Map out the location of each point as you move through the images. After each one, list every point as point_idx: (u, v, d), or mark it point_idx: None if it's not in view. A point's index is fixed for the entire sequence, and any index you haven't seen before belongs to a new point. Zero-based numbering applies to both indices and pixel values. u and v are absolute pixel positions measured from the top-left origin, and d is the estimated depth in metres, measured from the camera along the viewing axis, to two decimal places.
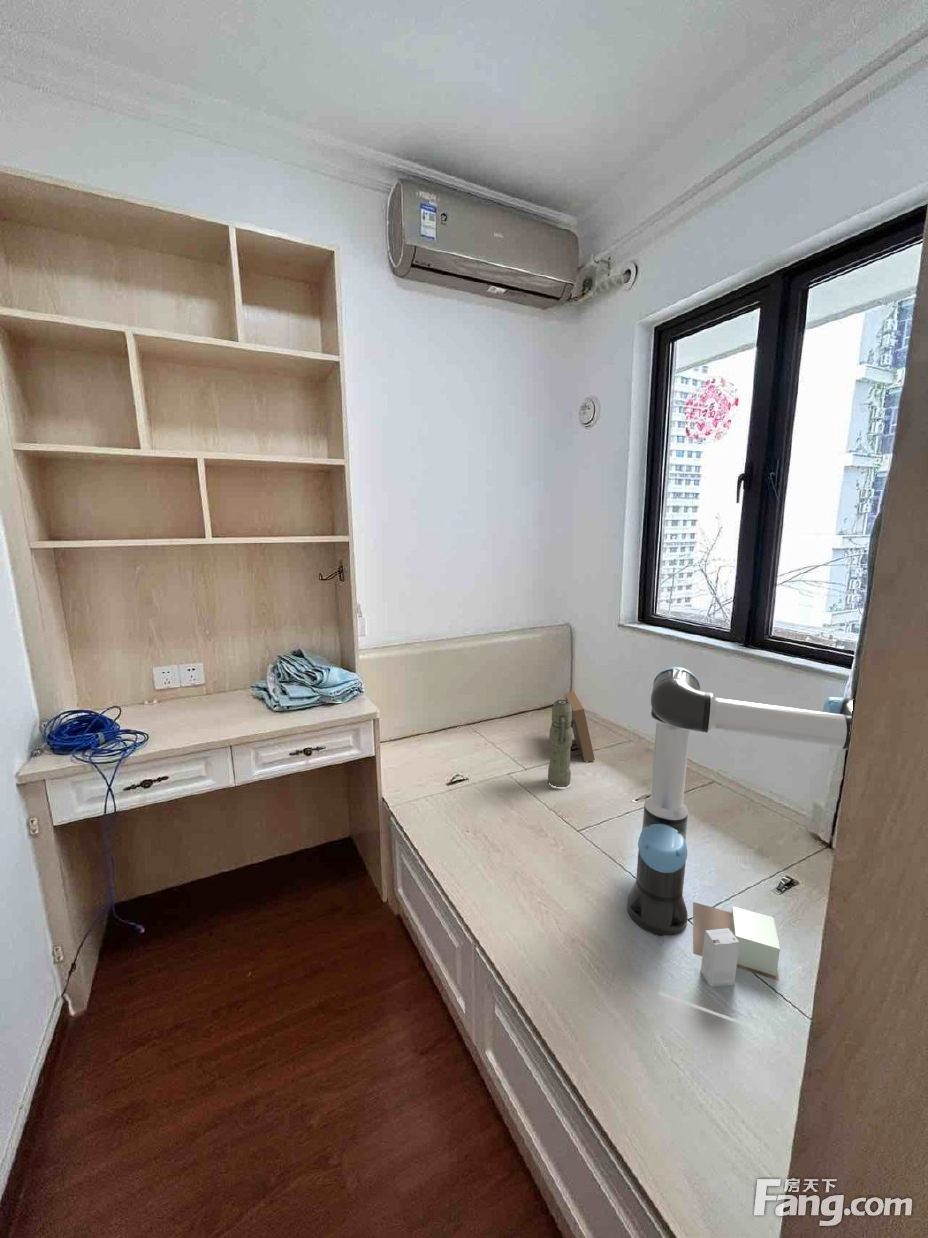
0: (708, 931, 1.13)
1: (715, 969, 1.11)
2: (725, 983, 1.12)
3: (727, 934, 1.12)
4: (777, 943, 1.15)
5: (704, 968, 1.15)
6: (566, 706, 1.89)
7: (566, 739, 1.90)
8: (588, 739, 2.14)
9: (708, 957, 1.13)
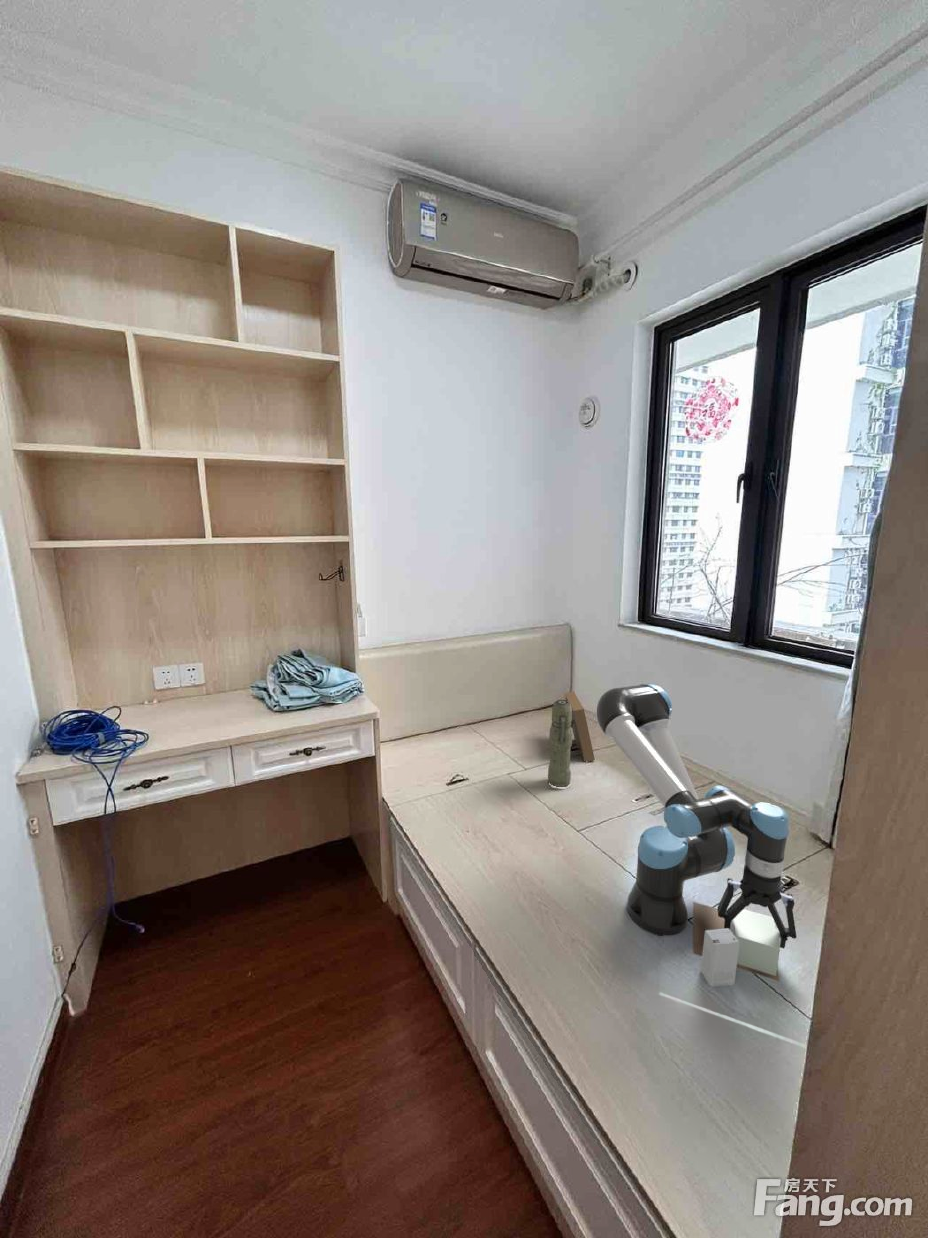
0: (708, 931, 1.13)
1: (715, 969, 1.11)
2: (725, 983, 1.12)
3: (727, 934, 1.12)
4: (777, 943, 1.15)
5: (704, 968, 1.15)
6: (566, 706, 1.89)
7: (566, 739, 1.90)
8: (588, 739, 2.14)
9: (708, 957, 1.13)
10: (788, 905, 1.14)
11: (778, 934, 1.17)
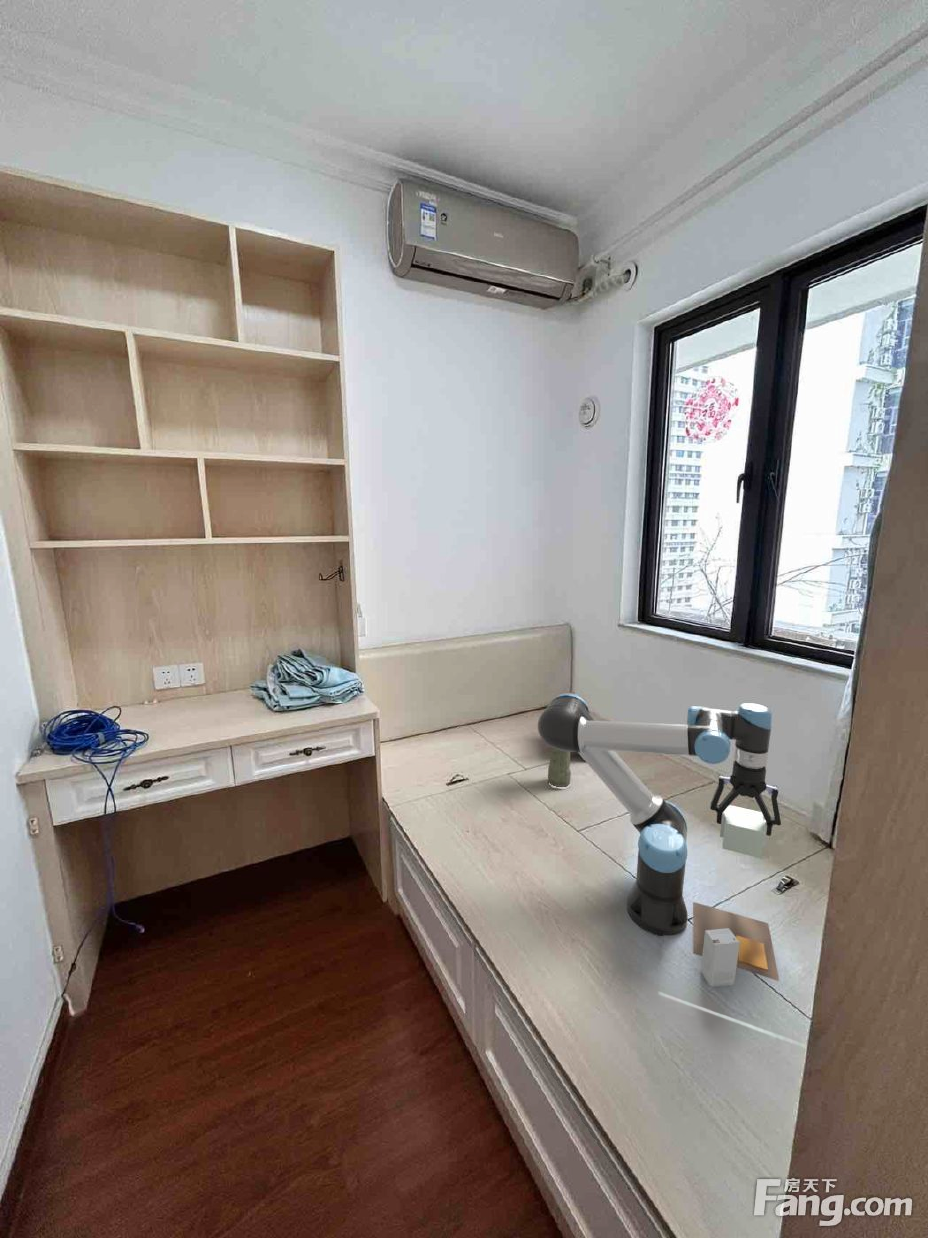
0: (708, 931, 1.13)
1: (715, 969, 1.11)
2: (725, 983, 1.12)
3: (727, 934, 1.12)
4: (763, 829, 1.27)
5: (704, 968, 1.15)
6: None
7: None
8: None
9: (708, 957, 1.13)
10: (773, 794, 1.27)
11: (765, 823, 1.30)
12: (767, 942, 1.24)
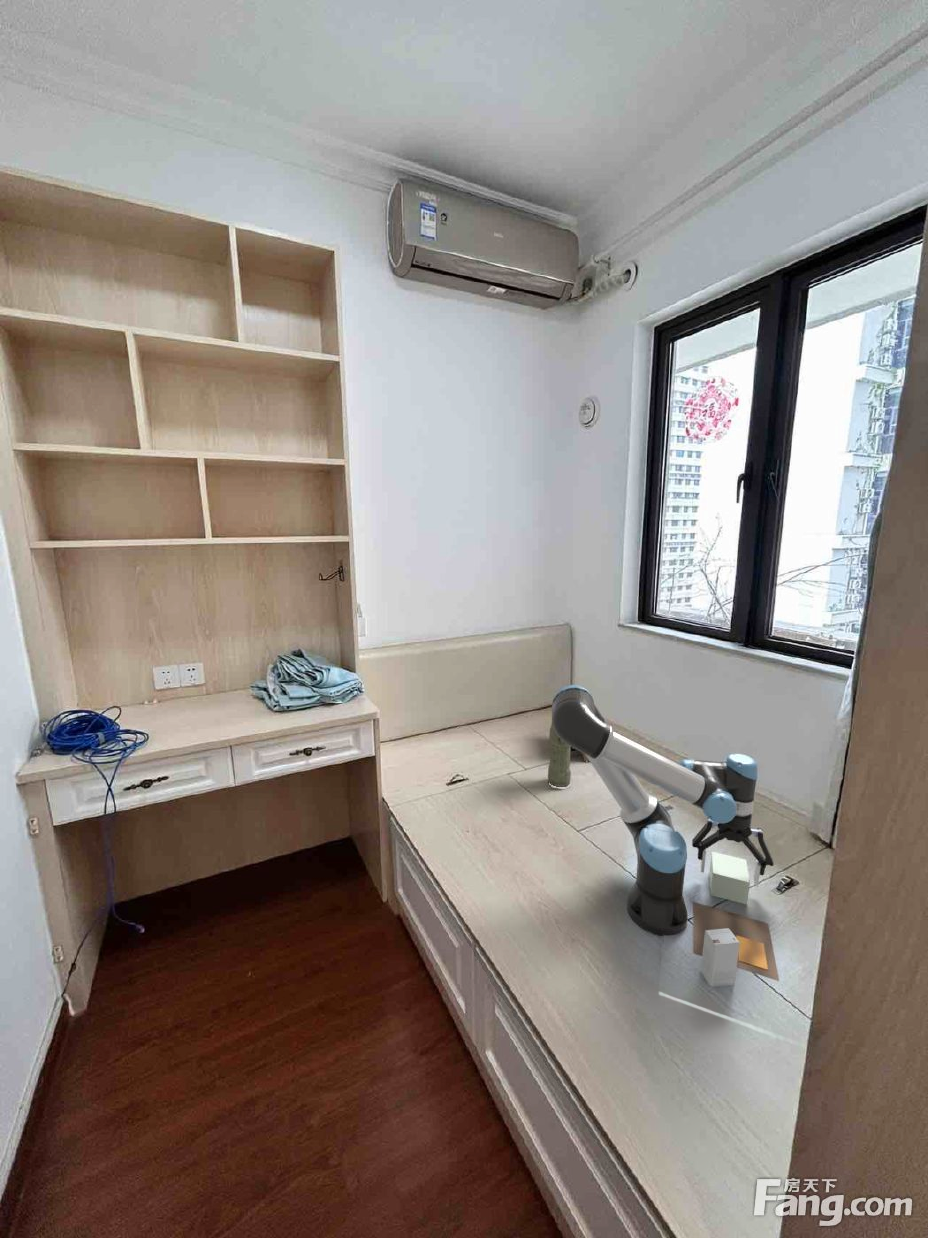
0: (708, 931, 1.13)
1: (715, 969, 1.11)
2: (725, 983, 1.12)
3: (727, 934, 1.12)
4: (748, 878, 1.36)
5: (704, 968, 1.15)
6: None
7: None
8: None
9: (708, 957, 1.13)
10: (759, 837, 1.35)
11: (758, 863, 1.37)
12: (767, 942, 1.24)
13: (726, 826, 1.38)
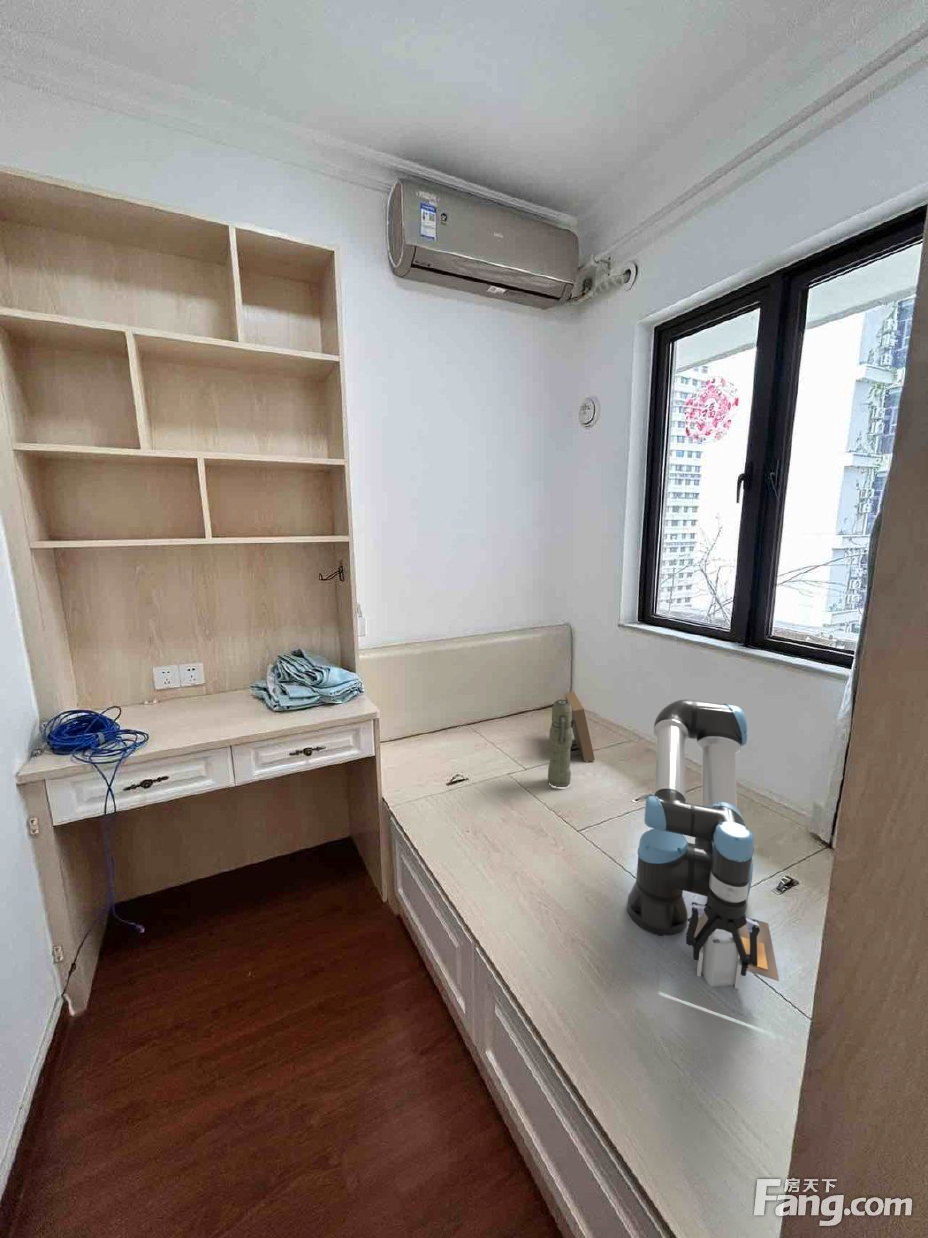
0: None
1: (715, 969, 1.11)
2: (725, 983, 1.12)
3: (727, 934, 1.12)
4: None
5: (704, 968, 1.15)
6: (566, 706, 1.89)
7: (566, 739, 1.90)
8: (588, 739, 2.14)
9: (708, 957, 1.13)
10: (753, 932, 1.08)
11: (739, 961, 1.11)
12: (767, 942, 1.24)
13: (713, 910, 1.11)
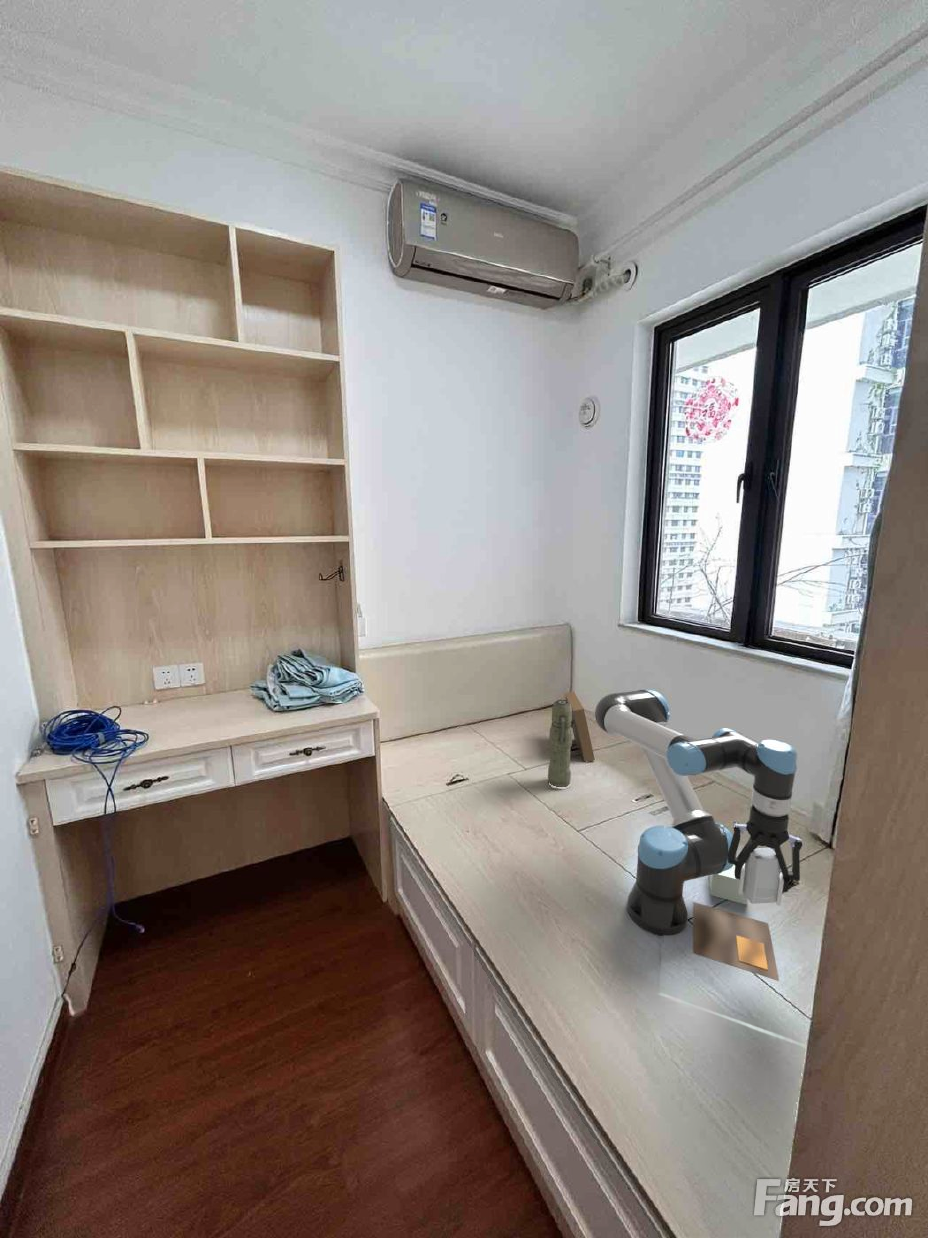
0: None
1: (757, 885, 1.14)
2: (767, 900, 1.15)
3: (769, 852, 1.15)
4: None
5: (745, 887, 1.17)
6: (566, 706, 1.89)
7: (566, 739, 1.90)
8: (588, 739, 2.14)
9: (750, 875, 1.15)
10: (795, 846, 1.10)
11: (781, 877, 1.14)
12: (767, 942, 1.24)
13: (756, 827, 1.14)
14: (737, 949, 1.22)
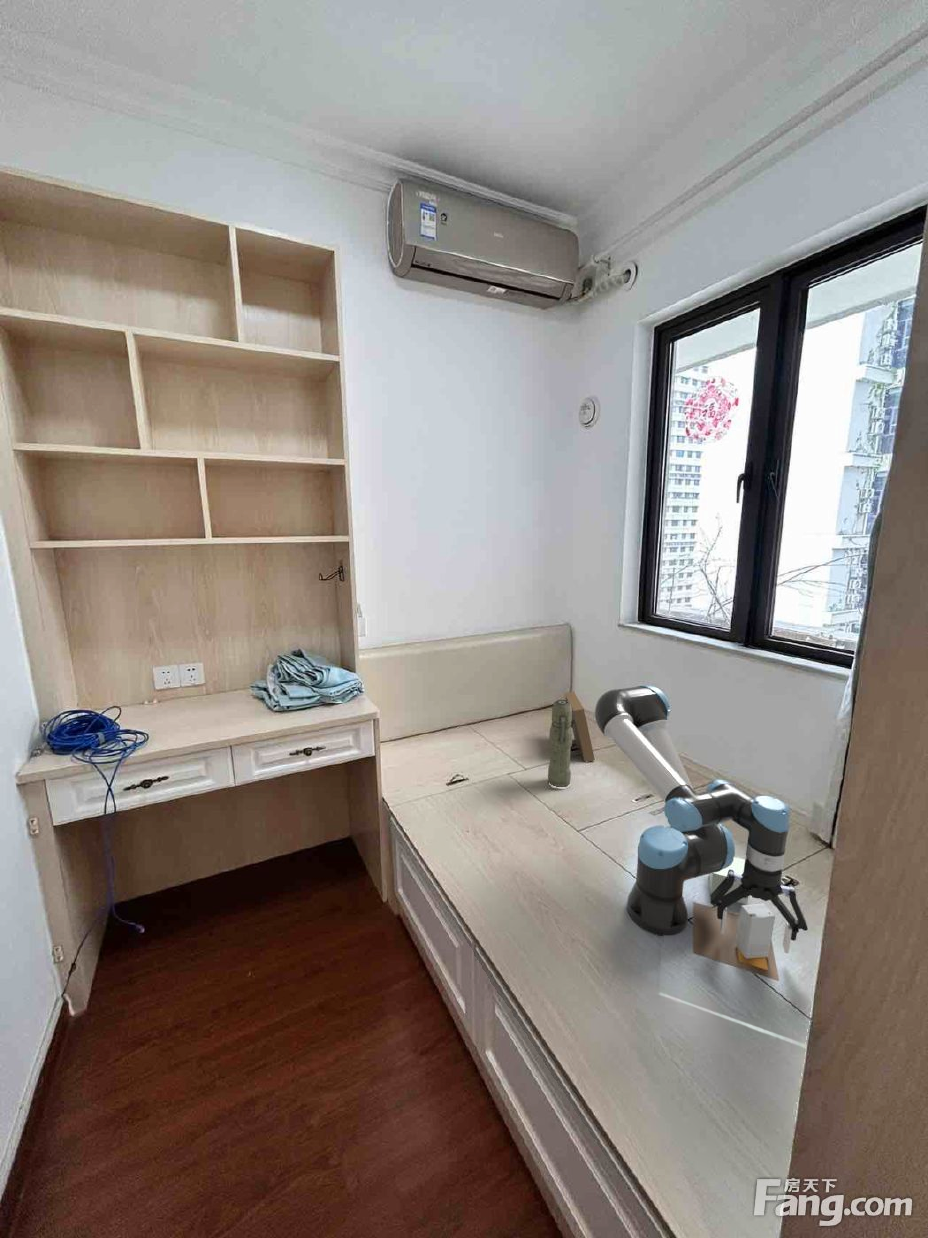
0: (744, 906, 1.19)
1: (750, 941, 1.18)
2: (760, 955, 1.19)
3: (762, 909, 1.19)
4: None
5: (739, 941, 1.21)
6: (566, 706, 1.89)
7: (566, 739, 1.90)
8: (588, 739, 2.14)
9: (744, 931, 1.19)
10: (790, 897, 1.14)
11: (789, 926, 1.16)
12: None
13: (751, 881, 1.17)
14: (737, 949, 1.22)
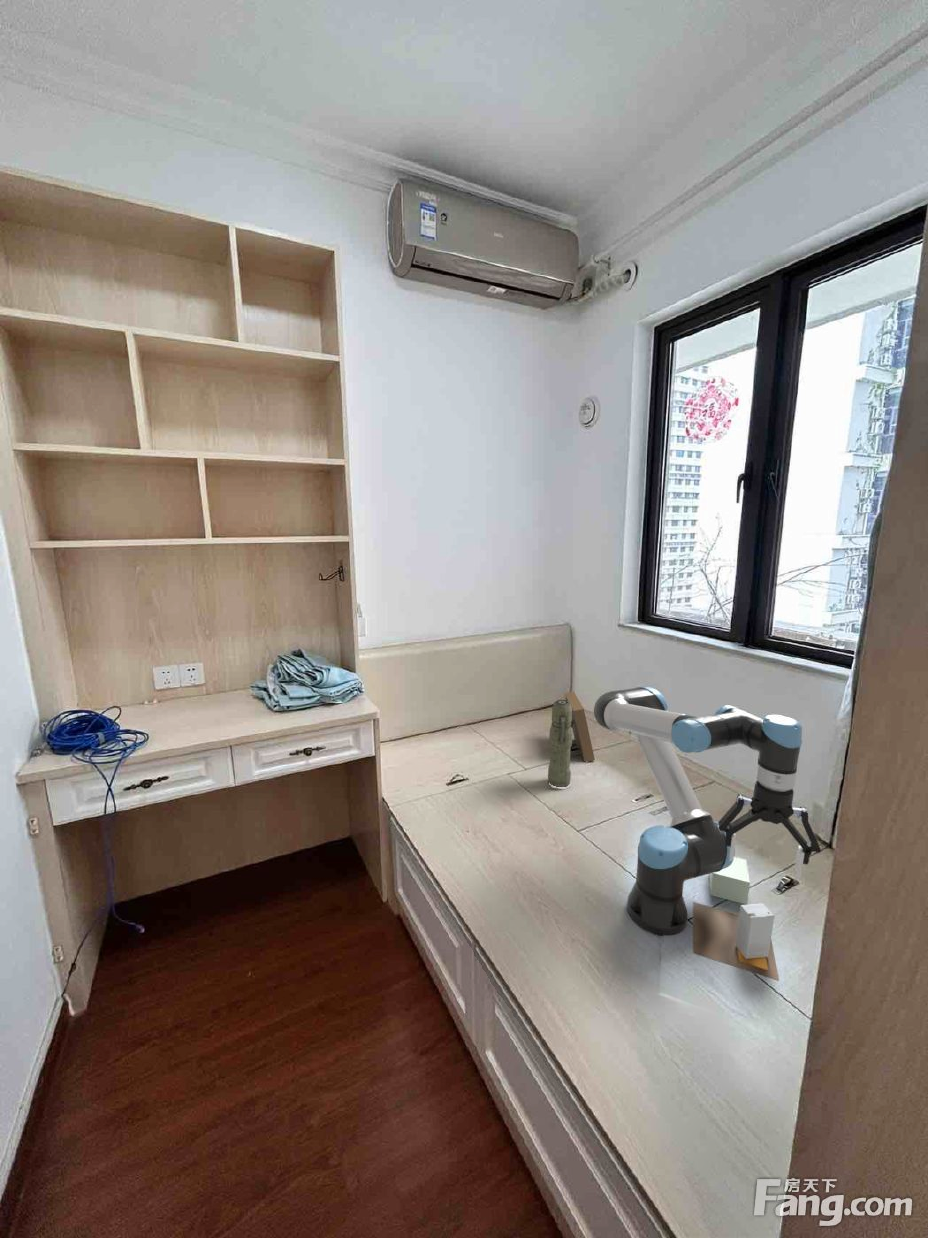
0: (743, 906, 1.20)
1: (750, 941, 1.18)
2: (760, 955, 1.19)
3: (762, 908, 1.19)
4: (748, 878, 1.36)
5: (739, 941, 1.21)
6: (566, 706, 1.89)
7: (566, 739, 1.90)
8: (588, 739, 2.14)
9: (743, 930, 1.19)
10: (802, 818, 1.10)
11: (801, 850, 1.12)
12: None
13: (761, 804, 1.13)
14: (737, 949, 1.22)
